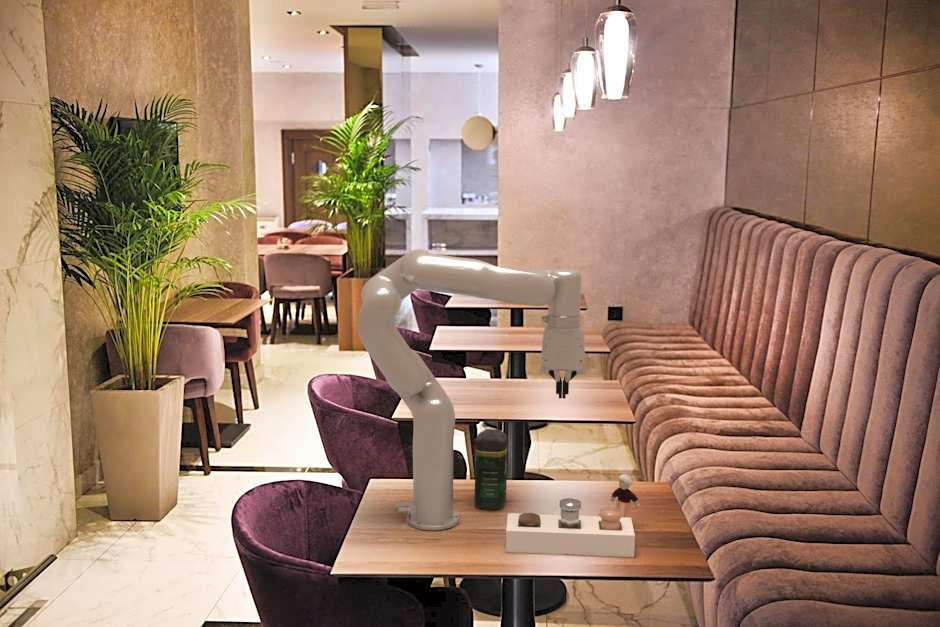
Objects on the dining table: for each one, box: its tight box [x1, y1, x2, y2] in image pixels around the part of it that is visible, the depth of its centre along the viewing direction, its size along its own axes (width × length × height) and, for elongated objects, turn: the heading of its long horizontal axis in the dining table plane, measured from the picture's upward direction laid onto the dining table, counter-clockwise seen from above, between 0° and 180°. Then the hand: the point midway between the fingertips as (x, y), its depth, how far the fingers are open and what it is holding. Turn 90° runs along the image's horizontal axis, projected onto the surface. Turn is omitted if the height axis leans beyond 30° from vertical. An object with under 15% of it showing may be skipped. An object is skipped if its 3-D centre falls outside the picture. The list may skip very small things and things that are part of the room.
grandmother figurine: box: [609, 473, 641, 518], centre depth 226 cm, size 8×4×13 cm, turn 62°
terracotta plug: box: [599, 507, 621, 530], centre depth 215 cm, size 5×5×6 cm
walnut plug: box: [519, 512, 540, 527], centre depth 216 cm, size 5×5×6 cm
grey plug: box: [559, 497, 582, 529], centre depth 215 cm, size 5×5×6 cm
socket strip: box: [505, 512, 636, 558], centre depth 216 cm, size 28×10×5 cm, turn 85°
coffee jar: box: [474, 428, 508, 511], centre depth 239 cm, size 10×8×19 cm
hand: (562, 396), depth 230 cm, fingers closed
